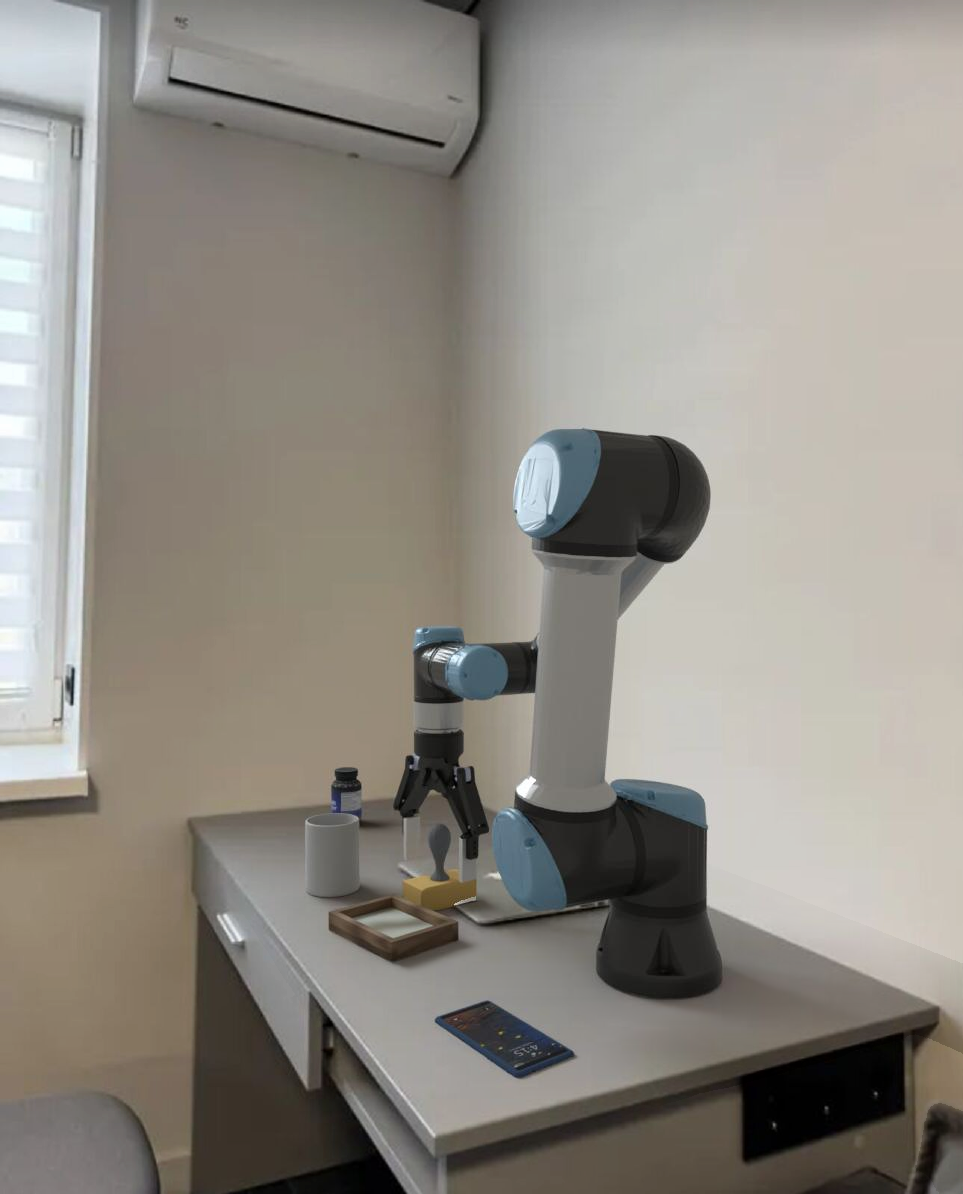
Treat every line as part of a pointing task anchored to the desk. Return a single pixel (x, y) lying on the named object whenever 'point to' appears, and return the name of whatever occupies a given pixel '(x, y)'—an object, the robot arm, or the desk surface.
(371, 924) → the tray
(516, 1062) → the smartphone
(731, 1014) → the desk surface
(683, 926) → the robot arm
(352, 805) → the pill bottle
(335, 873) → the mug
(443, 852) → the rubber stamp
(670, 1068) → the desk surface
